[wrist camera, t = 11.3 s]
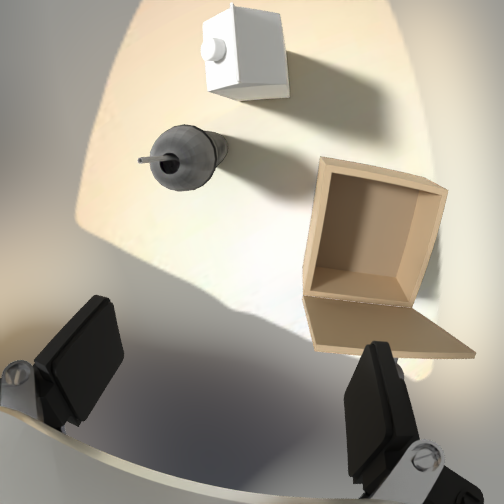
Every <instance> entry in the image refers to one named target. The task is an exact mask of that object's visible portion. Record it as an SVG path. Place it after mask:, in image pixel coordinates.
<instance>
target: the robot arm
mask: <svg viewBox="0 0 504 504" xmlns="http://www.w3.org/2000/svg"><path fill="white" fill-rule="evenodd" d="M123 358H124V351H123V347H122V343H121V339H120V334H119V329H118V325H117V321H116V315H115V311H114V305H113V303H111V302H110V299H109V298H107V297H103V296H99V295H94V296H93V297H92V298H91V299H90V300H89V301H88V302H87V303H86V304H85V305H84V306H83V307H82V308H81V309H80V310H79V311H78V312H77V313H76V314H75V315H74V316H73V318H72V319H71V320H70V321H69V322H68V323H67V324H66V325H65V326H64V327H63V328H62V329H61V330H60V331H59V332H58V334H57V335H56V336H55V337H54V338H53V339H52V340H51V341H50V342H49V343H48V345H47V346H46V347H45V348H44V349H43V350H42V351H41V352H40V354H39V355H38V356H37V357H36V358H35V359H34V362H35V364H34V365H33V366H32V365H31V364H30V363H29V362H27V361H24V360H18V361H14V362H12V363H10V364H9V365H8V366H7V367H6V368H5V369H4V371H3V374H2V378H0V504H484V498H483V494H482V492H481V490H480V489H479V488H478V487H477V486H475V485H473V484H472V483H470V482H469V481H467V480H466V479H464V478H463V477H461V476H459V475H458V474H457V473H455V472H453V471H452V470H450V469H449V468H448V467H446V466H445V465H444V463H445V455H444V452H443V450H442V448H441V447H440V446H439V445H438V444H437V443H435V442H433V441H431V440H426V439H423V440H420V438H419V434H418V430H417V426H416V422H415V418H414V414H413V410H412V406H411V402H410V398H409V395H408V392H407V388H406V384H405V382H404V380H403V379H402V378H399V375H398V371H397V368H396V365H395V361H394V358H393V355H392V351H391V348H390V345H389V343H388V342H384V341H372V342H371V344H367V345H366V346H365V348H364V351H363V353H362V356H361V358H360V360H359V363H358V365H357V367H356V370H355V372H354V374H353V376H352V378H351V381H350V383H349V385H348V387H347V389H346V391H345V395H344V407H345V421H346V435H347V452H348V473H349V476H350V477H353V484H361V483H362V484H363V490H364V491H365V492H364V493H363V494H362V495H361V496H360V497H359V499H324V498H323V499H322V498H301V497H287V496H276V495H266V494H258V493H251V492H244V491H238V490H231V489H226V488H221V487H216V486H211V485H206V484H201V483H198V482H193V481H189V480H185V479H181V478H178V477H174V476H171V475H167V474H164V473H160V472H157V471H154V470H151V469H148V468H145V467H142V466H139V465H136V464H133V463H131V462H128V461H125V460H122V459H120V458H117V457H115V456H112V455H110V454H107V453H105V452H102V451H100V450H98V449H95V448H93V447H91V446H89V445H87V444H84V443H82V442H80V441H78V440H76V439H74V438H72V437H69V436H68V435H66V431H65V426H64V425H65V423H66V421H68V422H69V423H72V424H74V425H76V426H78V427H79V425H80V423H81V421H85V420H86V419H87V418H88V416H89V414H90V412H91V411H92V409H93V408H94V406H95V404H96V403H97V401H98V399H99V398H100V396H101V395H102V393H103V391H104V390H105V388H106V387H107V385H108V383H109V382H110V380H111V378H112V377H113V375H114V374H115V372H116V371H117V369H118V367H119V366H120V364H121V363H122V361H123Z"/></svg>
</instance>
